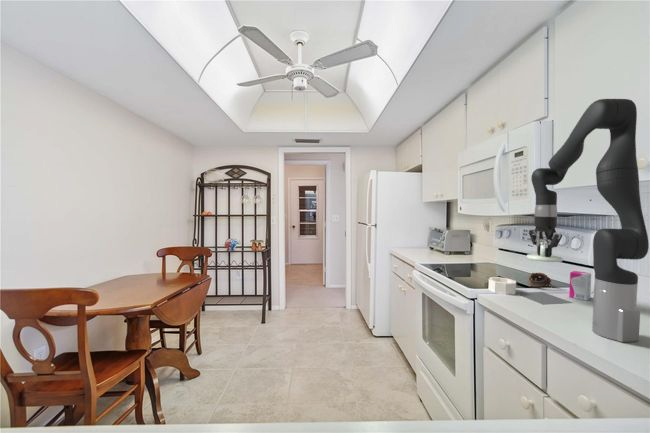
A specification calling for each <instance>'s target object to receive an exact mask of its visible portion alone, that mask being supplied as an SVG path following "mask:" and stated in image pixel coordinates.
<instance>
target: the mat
mask: <svg viewBox="0 0 650 433" xmlns="http://www.w3.org/2000/svg"><path fill="white" fill-rule="evenodd" d="M514 295H517V296H519V297H523V298H524V299H525V298H526V299H527V300H530V301H533V302H534V303H535V302H536V303H538V304H541V305H543V306H544V305H560V304H561V305H563V304H573V303H574V302H572V301H569V300H566V299H563V298H561V297H558V296H555V295H553V294H549V293H546V292H543V291H534V292H531V291H530V292H516V293H515V294H514Z"/></svg>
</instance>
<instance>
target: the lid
mask: <svg viewBox="0 0 650 433" xmlns="http://www.w3.org/2000/svg"><path fill="white" fill-rule="evenodd" d="M545 248H546V247H545V243H544V244H541V245H540V256H539V255H538V254H537V253H532V254H531V253H530V254H529V253H528V254H526V259H528V260H532V261H536V262H547V263H562V262H563V259H564V258H563V257H561V256H558V255H551V257H545Z"/></svg>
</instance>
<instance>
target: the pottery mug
mask: <svg viewBox="0 0 650 433" xmlns="http://www.w3.org/2000/svg"><path fill="white" fill-rule="evenodd" d="M529 285H530V286H532V287H537V288H538V287H539V288H541V287H544V285H547V286H546V287H549V285H550V286H553V284H552V280H551V278H550V277H549V276H548V275H546V273H543V272H532V273H530V275H529V276H528V286H529ZM530 286H529V287H530Z"/></svg>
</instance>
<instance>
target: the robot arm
mask: <svg viewBox="0 0 650 433" xmlns="http://www.w3.org/2000/svg"><path fill="white" fill-rule="evenodd" d="M637 113H638V111H637V106H636V103H635V102H634V101H633V100H632V99H629V98H602V99H596V100H595V101H593V102H592V103H591V104H590V105H589V106H588V107H587V108H586V109H585V111H584V112H583V114H582V115H581V117H580V118H579V119H578V121H577V122H576V124H575V126H574V128H573V129H572V131H571V132H570V134H569V136H568V138H567V139H566V141H565V142H564V143H563V144H562V145H561V147H560V148H559V150H557V151H556V152H555V154H554V155H553V156H552V157H551V158H550V160H549V161H548V168H547V167H545V168H544V167H541V168H539V167H538V168H536V169H535V170H533V172H532V174H531V183H532V187H533V190H534V193H535V207H534V219H533V223H534V224H533V225H534V226H535V228H534V230H533V231H529V233H528V234H529V237H530V240H531V242H532V245H535V246H536V247H537V248H536V254H538V255H539V256H540V245H541V244H544V245H545V247H546V248H545V257H551V255H552V254H553V248H558V246H559V243H560V241H561V240H562V238H563V234H561V233H560V234H559V233H558V232H557V231H556V227H557V223H558V222H557V221H558V206H557V205H558V203H557V202H558V193H557V192H556V191H554V190H550V189H548V187H547V186H555V185H558V184H560V183H562V181H563V180H564V178H565V176H566V174H568V173H567V172H568V170H569V169H570V168H571V167H572V166H573V165H574V164H575V163H576V162H577V161H578V160H579V159H580V157H581V156H582V155H583V152H584V147H585V140H586V138H587V136H589V135H590V134H591V133H592V132H593V131H595V130H609V134H610V135H609V136H610V137H609V138H610V143H609V146H608V149H607V150H606V152H605V153H604V154H603V156H602V157H601V159H600V160H599V162H598V164H597V166H596V169H595V177H596V178H595V179H596V186H597V187H596V188H597V191H598V192H599V194H600V196H601V197H603V199H604V200H605V201H606V202H607V203H608V204H609V205H610V206H611V207H612V208H613V209H614V211H615V212H616V214H617V216H618V219H619V222H620V227H621V228H600V229H598V230H597V231H596V232H595V234H594V236H593V240H592V251H593V252H592V253H593V256H592V257H593V262H592V264H593V271H594V287H593V302H592V303H593V307H592V326H591V328H592V329H591V331H592V332H593V333H595V334H596V335H599V336H601V337H603V338H607V339H611V340H614V341H618V342H619V343H628V342H629V343H631V342H639V340H640V327H641V326H640V324H641V323H640V322H641V310H640V309H639V308H637V299H638V285H639V284H638V283H639V277H638V276H639V275H638V274H637V273H636V272H633V271H630V270H628V269H624V268H622V267H620V266H619V265H618V260H635V261H636V260H642V259H644V258H645V257H646V256H647V255H648V253H649V252H648V251H649V248H650V247H649V236H648V231H647V227H646V223H645V222H646V221H645V219H644V215H643V210H642V202H641V194H640V191H641V190H640V176H639V166H638V160H637V145H636V142H637V141H636V139H637V137H636V136H637V119H638V118H637V116H638V114H637ZM552 256H553V255H552Z"/></svg>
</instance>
